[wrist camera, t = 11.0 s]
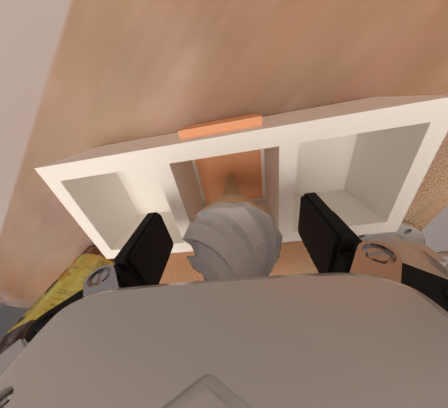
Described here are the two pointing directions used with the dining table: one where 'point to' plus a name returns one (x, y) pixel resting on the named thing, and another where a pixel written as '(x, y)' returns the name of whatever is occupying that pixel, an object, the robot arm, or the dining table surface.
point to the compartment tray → (259, 169)
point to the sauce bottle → (58, 292)
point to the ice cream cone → (233, 237)
